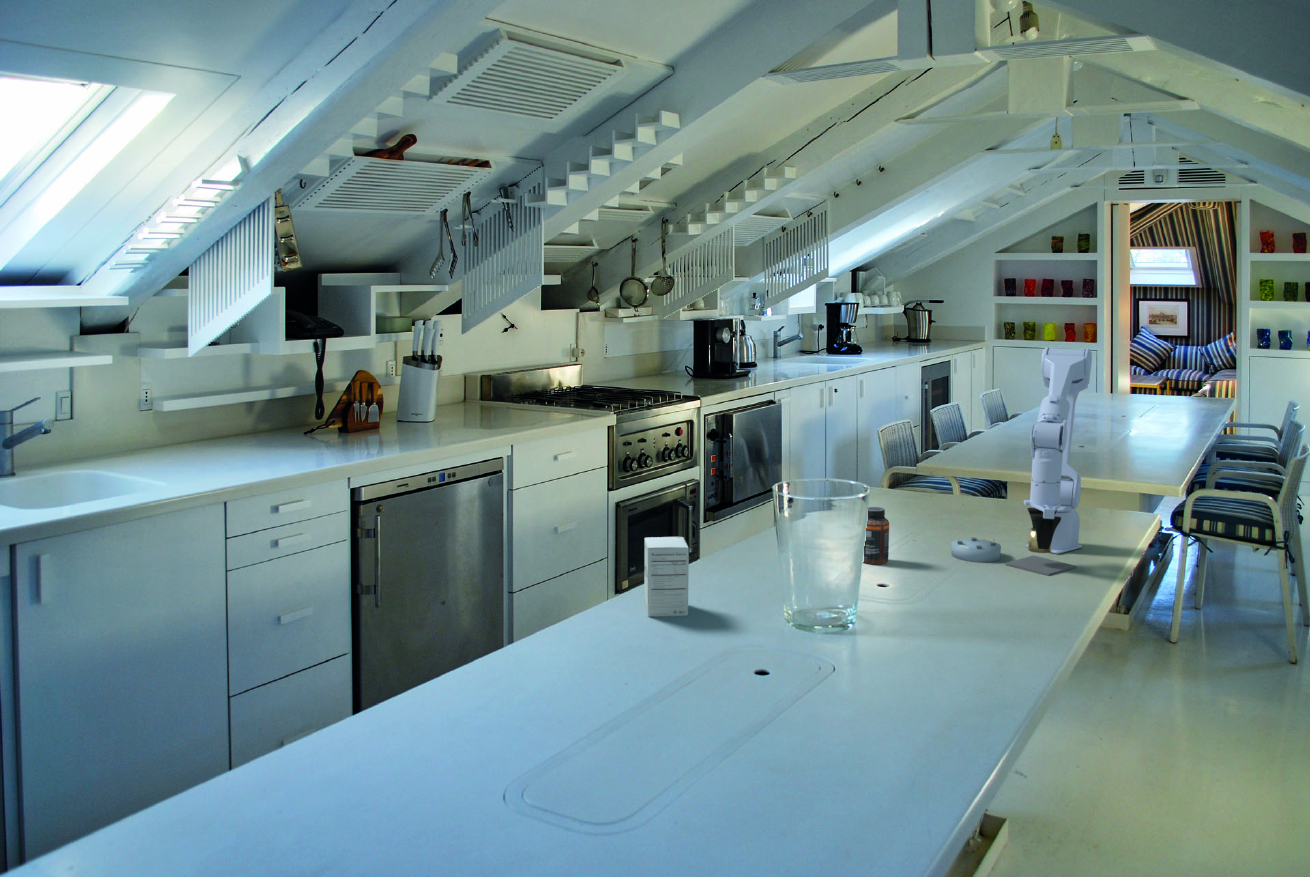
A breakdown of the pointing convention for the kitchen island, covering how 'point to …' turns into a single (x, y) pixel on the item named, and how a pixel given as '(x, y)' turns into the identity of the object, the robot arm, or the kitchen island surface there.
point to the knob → (1035, 543)
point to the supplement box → (666, 576)
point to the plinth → (976, 550)
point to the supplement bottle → (876, 537)
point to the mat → (1041, 565)
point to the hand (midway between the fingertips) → (1041, 545)
